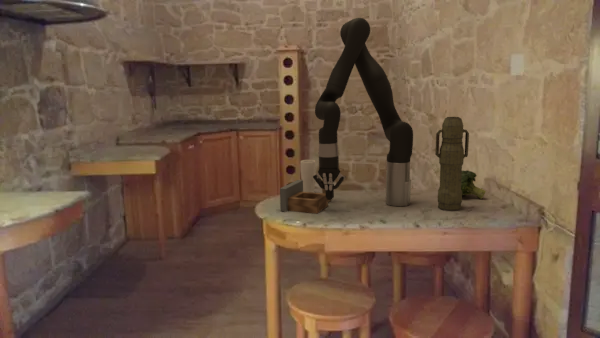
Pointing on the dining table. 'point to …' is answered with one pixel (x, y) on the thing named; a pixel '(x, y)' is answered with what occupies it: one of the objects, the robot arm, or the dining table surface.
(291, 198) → the walnut block
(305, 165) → the drinking glass
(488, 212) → the dining table surface
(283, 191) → the slate wall
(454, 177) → the thermos
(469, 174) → the vegetable
